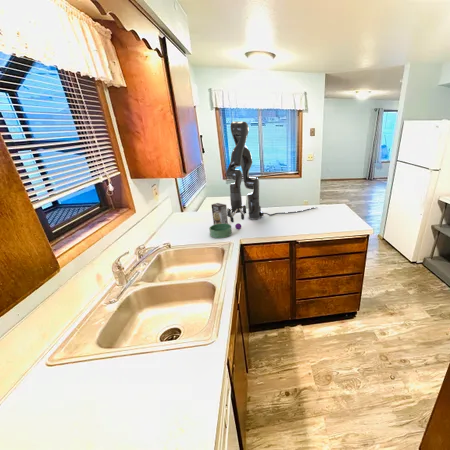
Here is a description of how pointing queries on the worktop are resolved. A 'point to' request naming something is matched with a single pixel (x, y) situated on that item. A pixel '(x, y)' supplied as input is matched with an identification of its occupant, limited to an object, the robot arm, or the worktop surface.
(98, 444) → the worktop surface
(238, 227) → the ball
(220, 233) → the bowl
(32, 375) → the worktop surface
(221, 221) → the coffee box
